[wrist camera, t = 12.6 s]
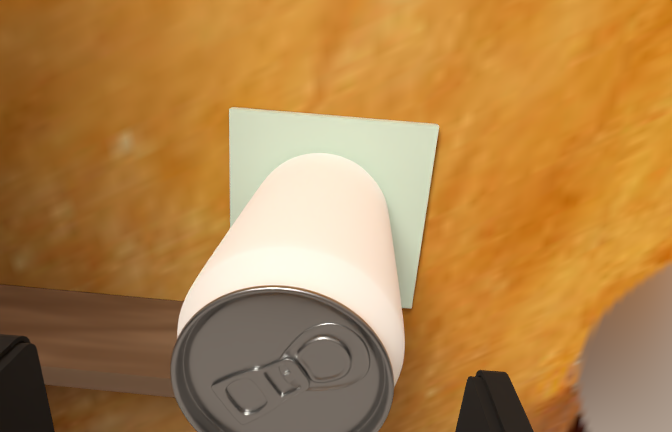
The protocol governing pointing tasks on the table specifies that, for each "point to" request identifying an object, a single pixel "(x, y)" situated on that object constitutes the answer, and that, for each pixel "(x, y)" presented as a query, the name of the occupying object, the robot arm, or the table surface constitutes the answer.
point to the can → (296, 309)
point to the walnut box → (95, 337)
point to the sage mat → (351, 143)
